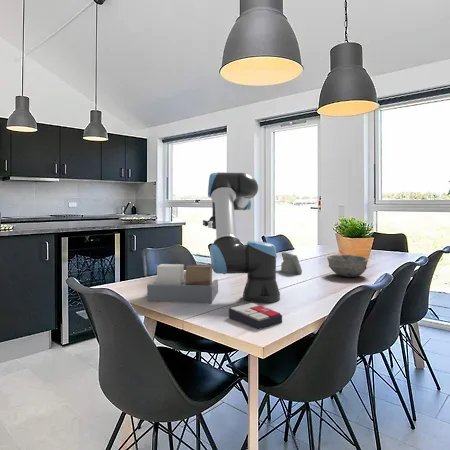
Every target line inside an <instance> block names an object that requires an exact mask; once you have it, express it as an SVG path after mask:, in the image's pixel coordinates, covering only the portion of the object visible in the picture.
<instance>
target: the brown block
mask: <svg viewBox="0 0 450 450" xmlns="http://www.w3.org/2000/svg"><path fill="white" fill-rule="evenodd" d="M185 281H186V285H204V286H211V284H212V283H213V269H212V265H211V264H188V265H187V266H185Z"/></svg>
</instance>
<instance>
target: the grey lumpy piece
mask: <svg viewBox="0 0 450 450" xmlns="http://www.w3.org/2000/svg"><path fill="white" fill-rule="evenodd" d="M281 257H282V260H283V261H282V262H281V268H280V269H281V270H280V271H281V272H283V273H284V274H285V273H286V274H289V275H291V274H298V275H301V274H302V273H303V269H302V267H301V263H300V261H299V257H298V255H296V254H294V253H290V252H286V251H282V252H281Z"/></svg>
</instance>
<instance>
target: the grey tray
mask: <svg viewBox="0 0 450 450" xmlns="http://www.w3.org/2000/svg"><path fill="white" fill-rule="evenodd" d="M146 290H147V291H146V292H147V294H146V295H147V296H146V297H147V302H160V303H161V302H164V303H165V302H166V303H167V302H168V303H189V304H190V303H191V304H192V303H193V304H195V303H198V304H212V303H213V302H214V300H215V298H216V297H217V295H218V293H219V280H218V279H213V280H212V284H211V286H204V285H186V280H184V283H182V284H181V285H166V284H157V280H156V281H155V282H153V283H152V284H151V283H149V284H147V289H146Z"/></svg>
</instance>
